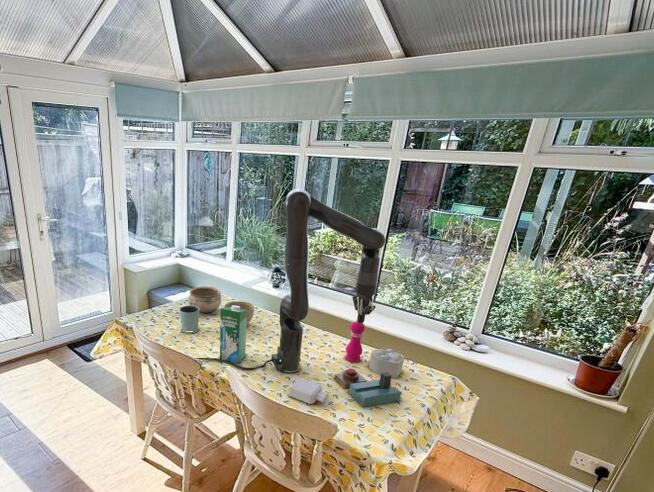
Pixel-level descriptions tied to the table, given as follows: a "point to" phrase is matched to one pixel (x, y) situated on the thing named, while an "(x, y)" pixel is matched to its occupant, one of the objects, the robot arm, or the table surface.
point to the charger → (307, 391)
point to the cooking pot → (205, 298)
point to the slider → (385, 380)
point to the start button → (351, 372)
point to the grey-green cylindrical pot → (189, 318)
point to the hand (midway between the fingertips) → (360, 322)
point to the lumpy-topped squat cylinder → (386, 362)
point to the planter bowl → (245, 306)
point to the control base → (373, 393)
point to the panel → (349, 379)
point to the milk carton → (233, 333)
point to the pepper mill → (355, 342)
